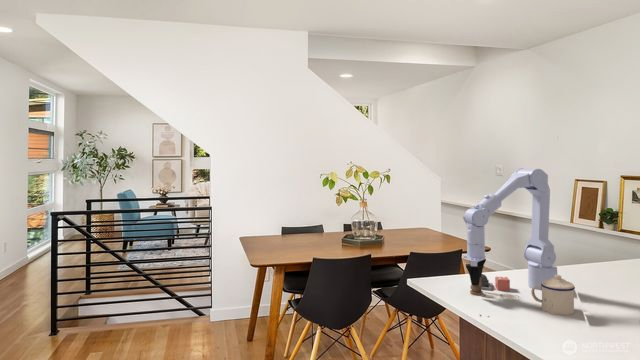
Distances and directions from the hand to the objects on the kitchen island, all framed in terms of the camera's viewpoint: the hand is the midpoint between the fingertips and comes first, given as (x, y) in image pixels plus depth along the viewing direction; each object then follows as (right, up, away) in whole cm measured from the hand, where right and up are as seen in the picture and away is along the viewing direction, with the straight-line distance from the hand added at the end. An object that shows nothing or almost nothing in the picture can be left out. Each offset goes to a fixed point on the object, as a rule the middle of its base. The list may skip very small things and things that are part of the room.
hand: (476, 282), depth 150 cm
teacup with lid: (+18, -6, -16) cm, 25 cm away
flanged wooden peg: (0, -4, 0) cm, 4 cm away
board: (+6, -5, +2) cm, 8 cm away
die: (+11, -4, +5) cm, 13 cm away
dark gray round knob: (+5, -4, +8) cm, 10 cm away
